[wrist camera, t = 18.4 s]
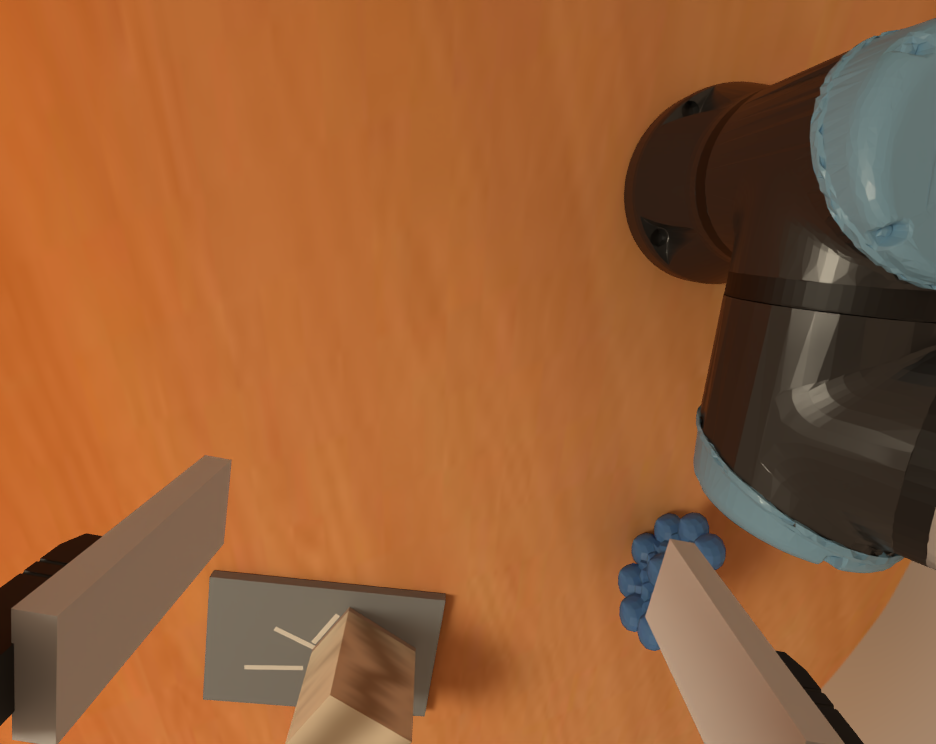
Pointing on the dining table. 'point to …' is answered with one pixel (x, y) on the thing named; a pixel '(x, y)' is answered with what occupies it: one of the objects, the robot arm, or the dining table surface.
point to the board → (302, 632)
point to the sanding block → (356, 687)
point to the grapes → (649, 557)
